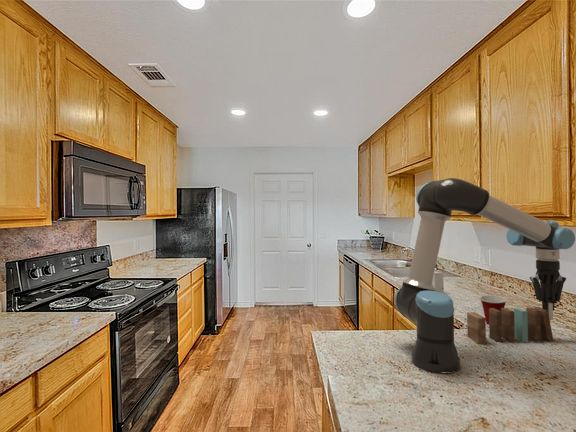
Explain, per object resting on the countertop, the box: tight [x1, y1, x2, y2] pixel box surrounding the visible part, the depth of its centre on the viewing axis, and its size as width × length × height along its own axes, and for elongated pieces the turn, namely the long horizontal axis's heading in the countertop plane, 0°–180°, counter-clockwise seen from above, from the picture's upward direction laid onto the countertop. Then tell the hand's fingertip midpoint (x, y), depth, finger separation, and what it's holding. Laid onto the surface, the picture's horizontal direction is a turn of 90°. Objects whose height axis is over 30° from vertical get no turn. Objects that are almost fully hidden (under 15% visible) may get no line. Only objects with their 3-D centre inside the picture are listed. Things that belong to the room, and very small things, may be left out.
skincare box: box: [432, 270, 445, 294], centre depth 208 cm, size 8×6×15 cm
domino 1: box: [488, 308, 503, 343], centre depth 135 cm, size 2×5×12 cm, turn 179°
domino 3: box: [513, 307, 529, 343], centre depth 135 cm, size 2×5×12 cm, turn 179°
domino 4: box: [525, 307, 542, 343], centre depth 134 cm, size 2×5×12 cm, turn 179°
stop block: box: [466, 311, 487, 345], centre depth 135 cm, size 3×8×10 cm, turn 179°
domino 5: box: [533, 306, 554, 342], centre depth 134 cm, size 2×5×12 cm, turn 179°
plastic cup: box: [479, 294, 508, 325], centre depth 154 cm, size 11×11×12 cm
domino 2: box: [501, 307, 516, 343], centre depth 135 cm, size 2×5×12 cm, turn 179°
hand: (548, 318), depth 134 cm, fingers closed
